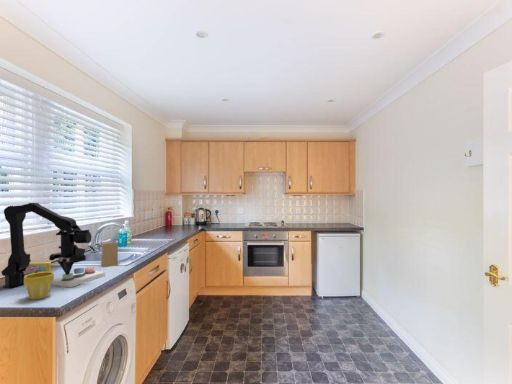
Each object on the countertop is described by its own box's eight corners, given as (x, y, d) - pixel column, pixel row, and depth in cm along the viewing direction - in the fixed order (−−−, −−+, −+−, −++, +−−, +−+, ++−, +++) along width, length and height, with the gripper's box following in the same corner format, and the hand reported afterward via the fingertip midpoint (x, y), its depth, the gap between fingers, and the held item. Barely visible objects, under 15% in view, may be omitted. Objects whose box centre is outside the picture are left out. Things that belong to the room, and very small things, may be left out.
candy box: (16, 278, 146) (16, 263, 146) (20, 277, 149) (19, 262, 149) (49, 277, 148) (49, 262, 148) (51, 276, 150) (51, 261, 150)
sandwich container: (115, 260, 186) (115, 238, 186) (118, 265, 173) (118, 242, 173) (100, 262, 181) (100, 240, 181) (102, 267, 168) (102, 243, 168)
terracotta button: (88, 273, 146) (88, 269, 146) (82, 272, 148) (82, 268, 148) (95, 271, 151) (95, 267, 151) (90, 270, 152) (90, 266, 152)
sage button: (66, 280, 135) (66, 276, 135) (60, 279, 137) (60, 275, 137) (75, 277, 139) (74, 273, 139) (68, 276, 141) (68, 272, 141)
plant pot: (50, 291, 127) (50, 270, 127) (56, 296, 121) (56, 274, 121) (21, 297, 119) (21, 275, 119) (26, 303, 113) (26, 279, 113)
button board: (69, 287, 132) (69, 282, 132) (49, 284, 137) (49, 279, 137) (105, 275, 151) (105, 271, 151) (86, 273, 155) (86, 269, 155)
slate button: (77, 274, 141) (77, 270, 141) (71, 273, 142) (71, 269, 142) (85, 271, 145) (85, 268, 145) (79, 271, 146) (79, 267, 146)
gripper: (95, 241, 143) (95, 271, 142) (70, 240, 149) (70, 268, 149) (74, 245, 132) (74, 278, 132) (48, 243, 138) (48, 274, 138)
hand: (67, 274), depth 138 cm, fingers closed, pressing on sage button
